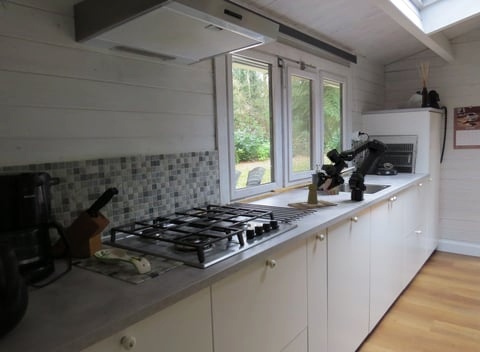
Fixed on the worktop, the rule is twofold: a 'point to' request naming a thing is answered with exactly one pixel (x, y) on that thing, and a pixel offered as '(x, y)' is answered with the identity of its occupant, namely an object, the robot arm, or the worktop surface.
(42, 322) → the worktop surface
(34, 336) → the worktop surface
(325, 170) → the robot arm
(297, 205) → the baseplate
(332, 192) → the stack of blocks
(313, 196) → the pepper mill
